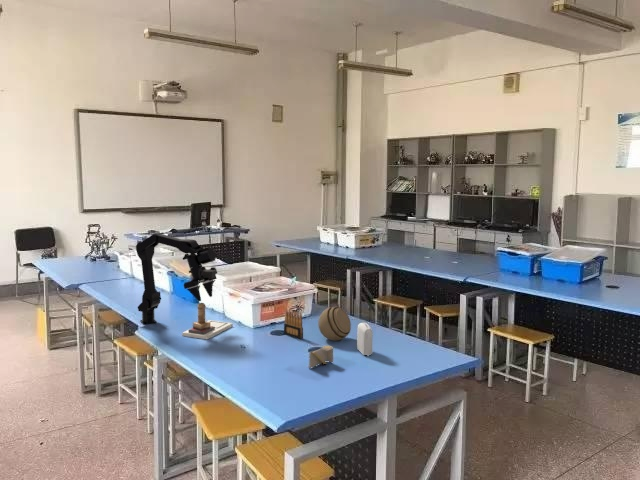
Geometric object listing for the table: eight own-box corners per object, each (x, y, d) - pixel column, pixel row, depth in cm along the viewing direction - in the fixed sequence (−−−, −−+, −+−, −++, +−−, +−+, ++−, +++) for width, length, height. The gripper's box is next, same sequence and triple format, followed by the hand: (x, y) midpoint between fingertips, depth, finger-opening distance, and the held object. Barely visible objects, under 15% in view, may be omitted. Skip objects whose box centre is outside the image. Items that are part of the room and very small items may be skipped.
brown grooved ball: (323, 346, 236) (323, 312, 234) (314, 335, 250) (314, 303, 248) (356, 343, 240) (356, 310, 238) (345, 333, 254) (346, 302, 252)
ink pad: (203, 334, 244) (203, 332, 243) (188, 332, 246) (188, 329, 246) (214, 329, 252) (214, 326, 252) (199, 327, 255) (199, 324, 255)
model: (332, 364, 215) (333, 345, 214) (315, 372, 207) (315, 352, 206) (326, 362, 217) (326, 344, 216) (309, 370, 209) (309, 350, 208)
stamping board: (207, 339, 242) (207, 335, 242) (182, 335, 246) (182, 332, 246) (232, 326, 262) (232, 322, 262) (209, 322, 267) (209, 319, 267)
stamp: (200, 330, 245) (200, 305, 244) (193, 328, 249) (192, 302, 247) (210, 328, 249) (210, 302, 248) (202, 325, 253) (202, 300, 251)
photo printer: (355, 348, 233) (356, 320, 231) (365, 348, 234) (366, 320, 233) (363, 357, 223) (364, 327, 222) (373, 356, 224) (374, 327, 223)
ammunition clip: (283, 334, 252) (283, 308, 250) (286, 333, 253) (286, 308, 251) (300, 339, 244) (300, 313, 243) (303, 338, 246) (303, 312, 244)
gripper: (198, 265, 241) (208, 299, 241) (220, 259, 258) (230, 290, 258) (178, 271, 245) (188, 305, 245) (201, 264, 262) (211, 296, 263)
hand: (205, 298), depth 253 cm, fingers open, 9 cm apart
